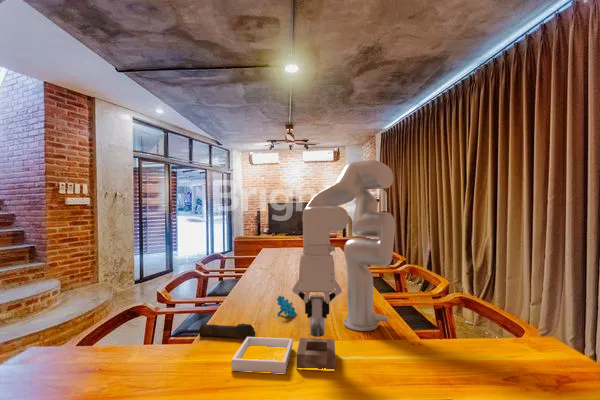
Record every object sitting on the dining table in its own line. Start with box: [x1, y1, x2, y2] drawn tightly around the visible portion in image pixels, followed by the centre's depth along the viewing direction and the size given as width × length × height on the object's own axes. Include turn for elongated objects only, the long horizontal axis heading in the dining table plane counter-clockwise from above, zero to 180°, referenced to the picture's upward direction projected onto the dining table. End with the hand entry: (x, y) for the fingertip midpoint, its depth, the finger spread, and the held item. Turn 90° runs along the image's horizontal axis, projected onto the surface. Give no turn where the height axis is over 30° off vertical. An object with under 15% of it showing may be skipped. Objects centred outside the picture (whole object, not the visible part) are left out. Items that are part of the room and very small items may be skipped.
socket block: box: [296, 337, 336, 370], centre depth 77 cm, size 10×10×4 cm
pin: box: [309, 294, 326, 338], centre depth 78 cm, size 4×4×10 cm
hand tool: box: [198, 322, 256, 341], centre depth 92 cm, size 19×4×5 cm, turn 78°
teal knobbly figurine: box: [276, 295, 297, 318], centre depth 114 cm, size 11×6×10 cm
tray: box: [230, 336, 294, 375], centre depth 78 cm, size 14×14×3 cm
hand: (317, 315), depth 78 cm, fingers closed on pin, 4 cm apart
